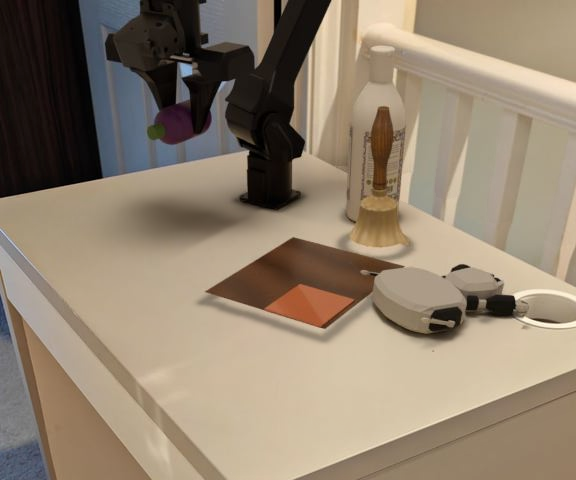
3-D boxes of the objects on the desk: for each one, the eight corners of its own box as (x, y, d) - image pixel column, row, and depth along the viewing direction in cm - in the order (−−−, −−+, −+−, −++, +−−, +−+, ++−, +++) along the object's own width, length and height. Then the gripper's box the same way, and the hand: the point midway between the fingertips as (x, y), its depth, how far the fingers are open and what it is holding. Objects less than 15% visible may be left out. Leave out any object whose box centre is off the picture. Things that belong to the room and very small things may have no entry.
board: (293, 246, 103) (293, 236, 102) (404, 275, 97) (405, 265, 96) (205, 301, 92) (204, 291, 91) (324, 339, 85) (325, 328, 84)
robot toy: (463, 287, 96) (351, 304, 90) (471, 249, 93) (356, 264, 87) (530, 334, 88) (411, 356, 82) (541, 294, 85) (419, 314, 79)
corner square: (299, 285, 92) (299, 283, 92) (354, 301, 89) (354, 299, 89) (264, 310, 87) (264, 308, 87) (320, 327, 85) (320, 325, 84)
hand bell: (360, 263, 99) (368, 121, 89) (332, 237, 105) (337, 101, 95) (421, 252, 102) (436, 113, 91) (390, 228, 107) (401, 94, 97)
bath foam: (408, 217, 110) (424, 48, 97) (371, 230, 107) (382, 57, 94) (372, 202, 114) (383, 38, 101) (335, 214, 111) (341, 47, 98)
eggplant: (193, 127, 107) (191, 92, 104) (219, 133, 105) (217, 97, 103) (140, 148, 101) (136, 111, 98) (166, 155, 99) (163, 117, 96)
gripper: (61, -15, 92) (83, 133, 102) (191, 3, 84) (201, 162, 94) (129, -28, 99) (144, 112, 109) (256, -12, 91) (259, 137, 101)
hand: (183, 130), depth 103 cm, fingers closed on eggplant, 4 cm apart
